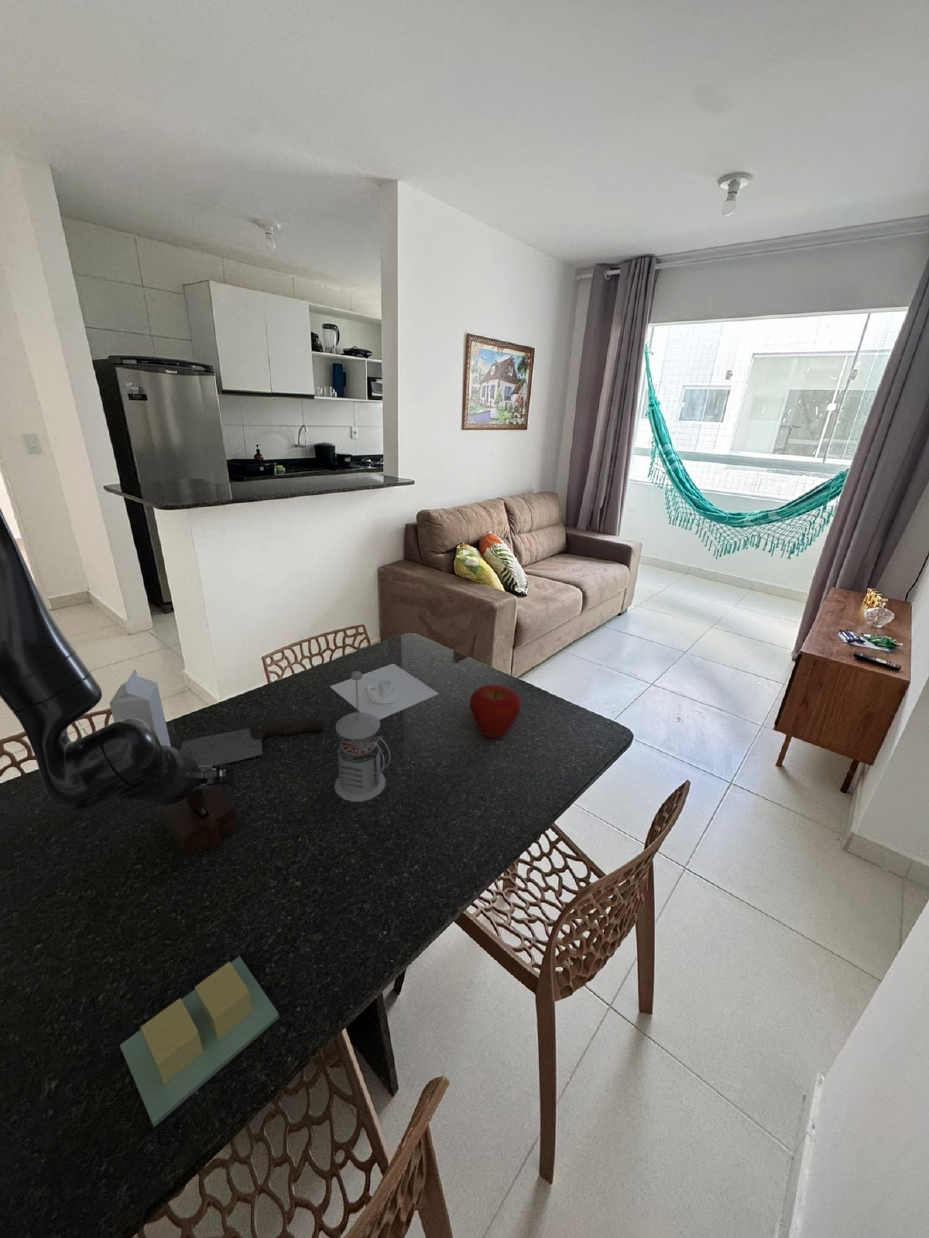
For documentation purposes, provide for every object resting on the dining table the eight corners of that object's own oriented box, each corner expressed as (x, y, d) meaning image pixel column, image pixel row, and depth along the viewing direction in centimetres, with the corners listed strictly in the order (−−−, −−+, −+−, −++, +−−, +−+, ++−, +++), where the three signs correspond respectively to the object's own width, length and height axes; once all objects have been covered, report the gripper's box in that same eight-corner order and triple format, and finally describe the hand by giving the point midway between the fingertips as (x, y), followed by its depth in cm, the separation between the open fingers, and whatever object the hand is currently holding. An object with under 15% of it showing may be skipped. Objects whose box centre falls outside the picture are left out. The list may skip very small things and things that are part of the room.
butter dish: (154, 1127, 52) (144, 1102, 50) (121, 1048, 58) (111, 1023, 56) (279, 1017, 62) (275, 993, 60) (240, 959, 68) (235, 935, 66)
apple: (518, 723, 121) (523, 679, 116) (514, 752, 111) (520, 705, 106) (472, 716, 122) (475, 673, 117) (464, 744, 112) (467, 697, 108)
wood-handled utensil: (201, 839, 85) (189, 783, 81) (188, 823, 88) (176, 768, 84) (215, 831, 87) (204, 776, 82) (202, 815, 90) (191, 761, 85)
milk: (132, 789, 95) (103, 687, 86) (141, 767, 100) (115, 670, 91) (168, 784, 97) (144, 684, 88) (175, 763, 102) (153, 667, 93)
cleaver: (321, 718, 118) (320, 711, 117) (328, 743, 110) (327, 735, 109) (177, 746, 107) (175, 738, 106) (173, 777, 99) (171, 768, 98)
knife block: (190, 863, 81) (186, 842, 79) (161, 821, 88) (156, 801, 87) (243, 832, 87) (239, 812, 85) (211, 796, 94) (208, 777, 93)
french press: (357, 760, 106) (353, 653, 96) (403, 781, 101) (404, 671, 91) (323, 788, 98) (315, 675, 88) (370, 813, 93) (368, 696, 83)
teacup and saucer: (360, 693, 129) (359, 679, 127) (386, 683, 134) (386, 669, 132) (380, 709, 123) (379, 694, 121) (406, 698, 128) (406, 684, 126)
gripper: (217, 741, 73) (241, 755, 87) (104, 752, 69) (149, 763, 84) (215, 797, 70) (240, 801, 85) (97, 810, 67) (144, 812, 82)
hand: (194, 782), depth 85 cm, fingers open, 8 cm apart
